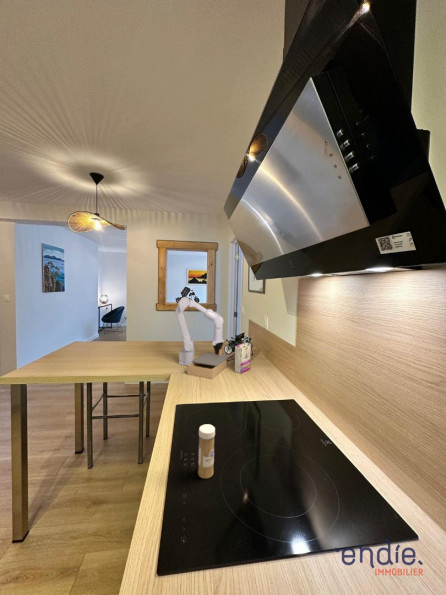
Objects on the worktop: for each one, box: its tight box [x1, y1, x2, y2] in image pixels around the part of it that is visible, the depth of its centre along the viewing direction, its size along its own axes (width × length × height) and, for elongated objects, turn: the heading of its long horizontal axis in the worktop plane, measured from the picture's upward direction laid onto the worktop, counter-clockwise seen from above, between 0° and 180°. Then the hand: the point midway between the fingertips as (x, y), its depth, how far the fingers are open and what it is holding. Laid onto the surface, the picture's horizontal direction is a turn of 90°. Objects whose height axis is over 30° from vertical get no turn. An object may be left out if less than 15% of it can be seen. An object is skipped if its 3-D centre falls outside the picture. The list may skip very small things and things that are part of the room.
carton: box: [186, 358, 228, 380], centre depth 155 cm, size 16×22×6 cm
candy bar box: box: [234, 342, 252, 375], centre depth 157 cm, size 11×5×16 cm, turn 143°
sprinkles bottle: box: [197, 423, 216, 479], centre depth 72 cm, size 5×5×13 cm
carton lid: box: [192, 348, 231, 366], centre depth 160 cm, size 17×23×4 cm
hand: (217, 353), depth 168 cm, fingers closed on carton lid, 2 cm apart
